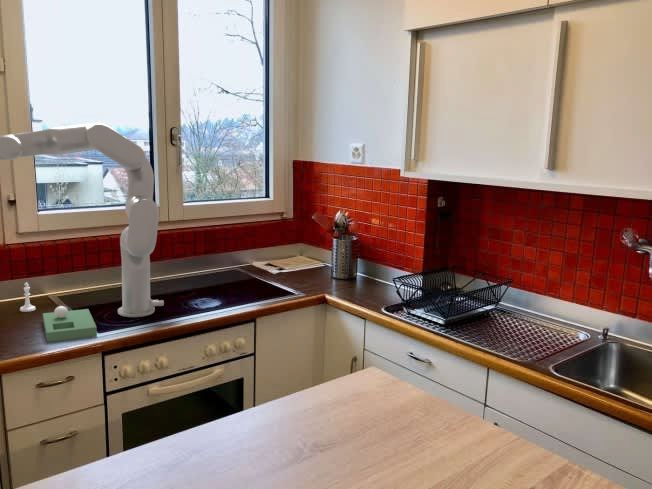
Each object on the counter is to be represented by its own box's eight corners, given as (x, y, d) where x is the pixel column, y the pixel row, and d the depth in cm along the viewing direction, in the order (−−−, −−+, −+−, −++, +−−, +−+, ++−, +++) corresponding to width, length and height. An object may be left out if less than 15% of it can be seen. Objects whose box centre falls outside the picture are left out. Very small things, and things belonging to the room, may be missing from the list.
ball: (67, 315, 182) (67, 303, 181) (68, 319, 179) (68, 307, 178) (54, 316, 180) (53, 305, 179) (55, 320, 177) (54, 308, 176)
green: (88, 317, 190) (88, 308, 190) (96, 336, 173) (96, 327, 173) (43, 321, 183) (42, 313, 183) (47, 342, 166) (46, 332, 166)
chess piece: (28, 312, 192) (27, 284, 190) (16, 310, 193) (15, 283, 191) (38, 308, 197) (37, 281, 195) (26, 306, 198) (25, 280, 196)
